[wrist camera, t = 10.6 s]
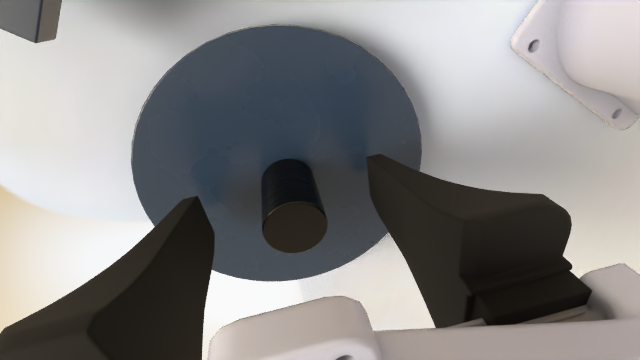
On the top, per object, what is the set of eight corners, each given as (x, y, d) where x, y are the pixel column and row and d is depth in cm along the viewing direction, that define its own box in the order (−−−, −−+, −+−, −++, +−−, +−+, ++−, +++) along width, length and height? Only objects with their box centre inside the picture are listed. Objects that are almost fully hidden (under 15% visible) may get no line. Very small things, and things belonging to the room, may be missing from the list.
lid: (463, 109, 15) (532, 148, 11) (333, 286, 20) (351, 356, 16) (194, -54, 10) (157, -83, 7) (109, 231, 15) (59, 310, 11)
